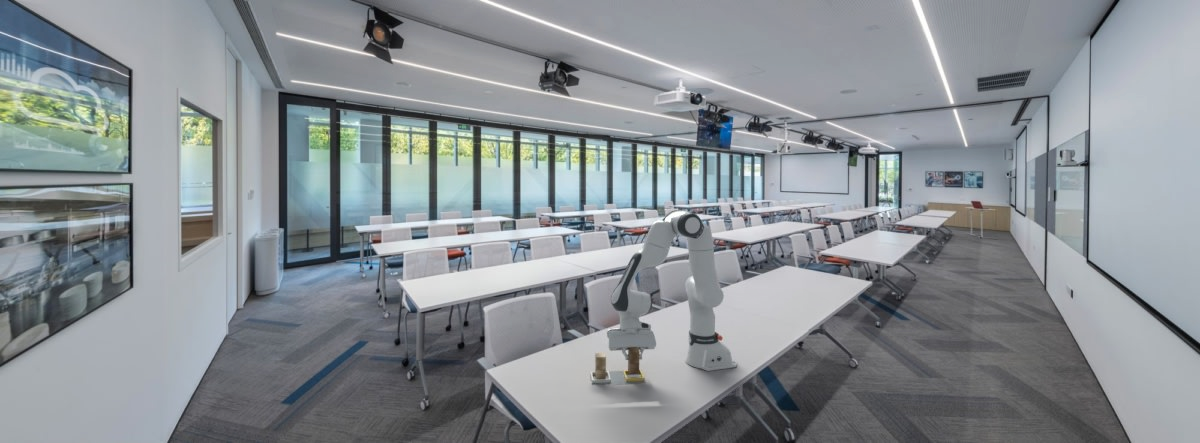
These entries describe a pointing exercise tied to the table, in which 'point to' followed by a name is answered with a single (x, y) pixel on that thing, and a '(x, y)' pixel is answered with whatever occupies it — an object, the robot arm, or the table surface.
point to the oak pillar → (600, 365)
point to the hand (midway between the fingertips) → (633, 359)
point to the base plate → (618, 378)
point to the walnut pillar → (633, 360)
